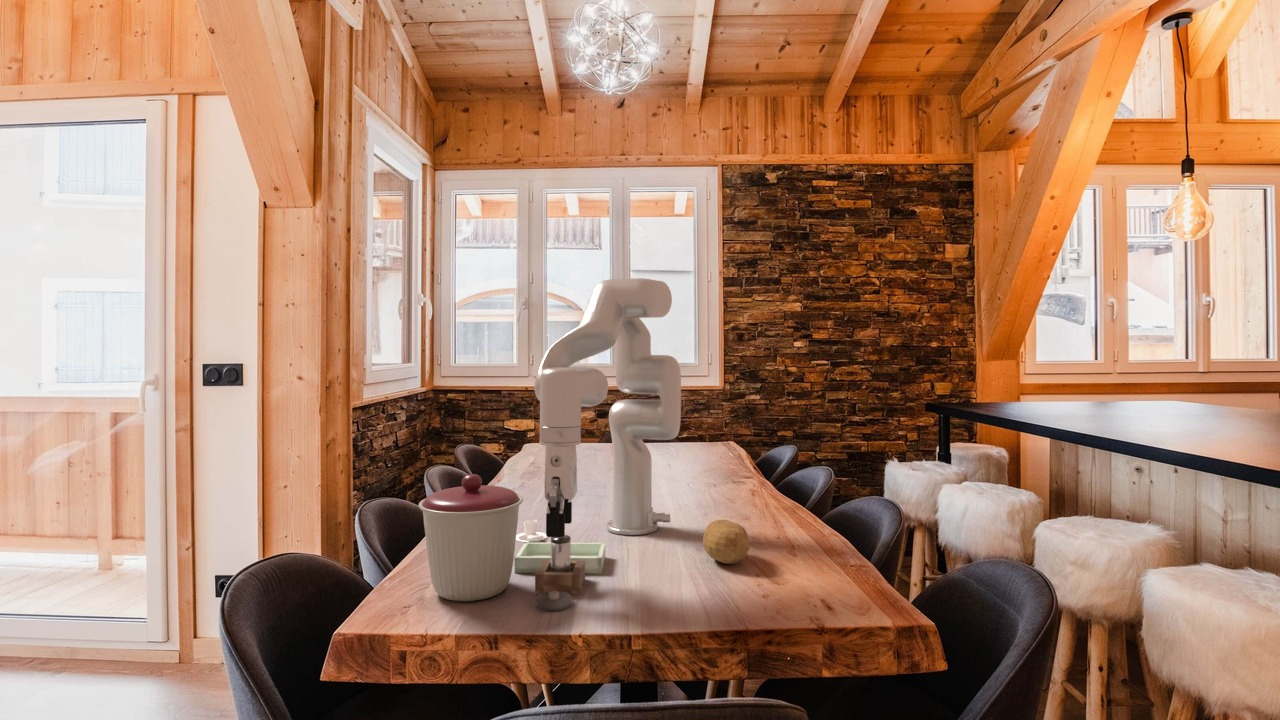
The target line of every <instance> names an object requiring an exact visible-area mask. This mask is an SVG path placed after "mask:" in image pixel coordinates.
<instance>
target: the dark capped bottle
mask: <svg viewBox="0 0 1280 720" xmlns="http://www.w3.org/2000/svg"><path fill="white" fill-rule="evenodd" d="M550 543H551V572H571V543H572V541H571V536H570V535H566V534H565V535H564V537H550Z"/></svg>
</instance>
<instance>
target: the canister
mask: <svg viewBox="0 0 1280 720" xmlns="http://www.w3.org/2000/svg"><path fill="white" fill-rule="evenodd" d="M482 484H483V480H482V476H480V475H478V474H474V473H473V474H472V473H471V474H467V475H465V476H463V478H462V479H461V486H455V487H449V488H445V489H441V490H437V491H435V492H433V493H430V494H429V495H428V496H427V497H426V498H424V499H422V500H421V501H420V502H419V503H418V508H419V509H420V511H422V515H423V526H424V534H425V544H426V550H427V551H426V552H427V559H428V567H429V573H430V574H429V575H430V578H431V579H430V580H431V585H432V587H433V590H434V591H435V592H436V594H437V595H438V596H439V597H440V598H442V599H445V600H449V601H452V602H453V601H454V602H473V601H474V602H477V601H482V600H486V599H489V598H492V597H495V596H496V595H499V594H500V593H502V592H503V591H504V590H505V589H506V587H507V586H508V585H509V583H510V580H511V576H512V572H513V567H514V566H513V565H514V559H515V552H516V551H515V548H516V535H517V531H518V522H519V513H520V512H519V511H520V505H521V504H522V503H523V501H524V497H523V496H522V495H521V494H520V493H517V492H515V491H514V490H512V489H511V488H509V487H508V488H507V487H503V486H497V485H485V484H484V485H482Z"/></svg>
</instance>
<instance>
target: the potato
mask: <svg viewBox="0 0 1280 720" xmlns="http://www.w3.org/2000/svg"><path fill="white" fill-rule="evenodd" d="M702 539H703V540H702V541H703V543H702V544H703V549H704V552H706V554H708V556H709V557H710V558H711V559H713V560H716V561H718V562H720V563H722V564H726V565H729V564H737V563H738V562H740V561H741V560H743V559H744V558H746V557H747V556H748V552H749V551H750V550H749V549H750V547H751V545H750V539H749V535H748V533H747V530H746V529H745V528H744V527H743V525H740V524H738V523H736V522H733V521H731V520H728V519H716V520H713V521H712V522H710V523H709V524H708V525H707V526H706V527H705V531H704V533H703V536H702Z"/></svg>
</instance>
